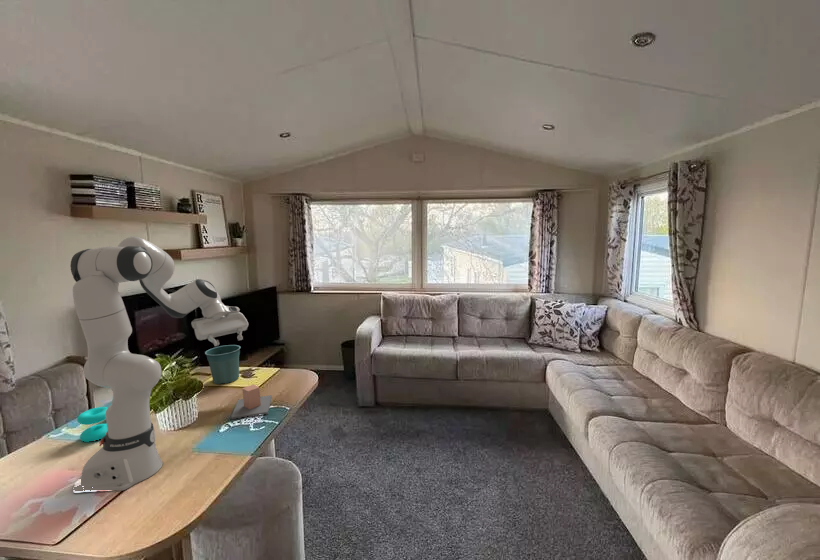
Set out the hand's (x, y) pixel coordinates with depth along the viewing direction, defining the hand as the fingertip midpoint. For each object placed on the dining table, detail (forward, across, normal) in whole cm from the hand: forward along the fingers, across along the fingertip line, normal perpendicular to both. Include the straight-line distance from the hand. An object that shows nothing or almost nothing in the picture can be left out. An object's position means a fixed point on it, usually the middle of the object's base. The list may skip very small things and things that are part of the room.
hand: (229, 342), depth 155 cm
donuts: (+4, -40, +41) cm, 58 cm away
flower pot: (-9, +15, +53) cm, 56 cm away
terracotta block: (+20, +8, +22) cm, 31 cm away
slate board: (+21, +8, +23) cm, 32 cm away
